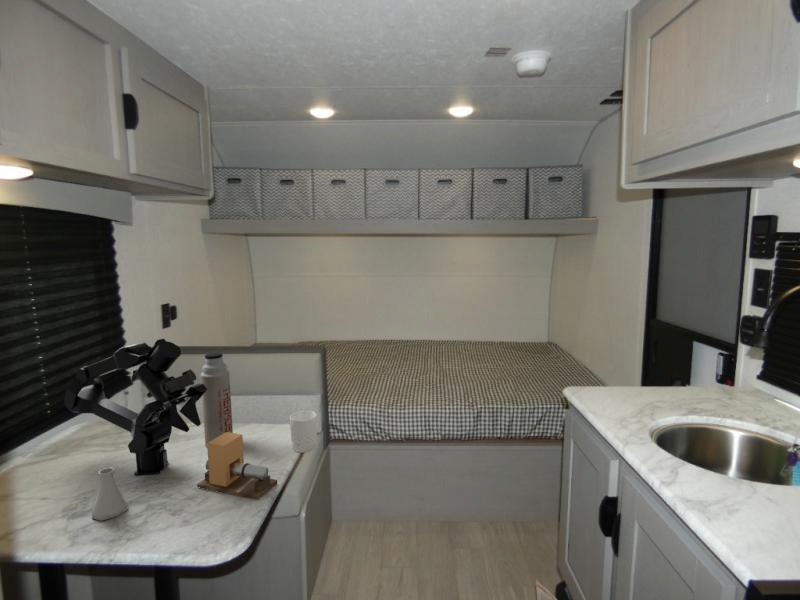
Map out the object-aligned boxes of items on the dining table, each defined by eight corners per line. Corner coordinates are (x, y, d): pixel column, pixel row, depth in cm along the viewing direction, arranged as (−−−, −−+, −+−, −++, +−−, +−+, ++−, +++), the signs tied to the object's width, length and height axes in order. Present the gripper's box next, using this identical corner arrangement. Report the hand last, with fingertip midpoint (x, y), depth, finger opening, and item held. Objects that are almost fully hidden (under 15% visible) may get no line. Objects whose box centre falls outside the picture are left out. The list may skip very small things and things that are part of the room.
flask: (121, 499, 111) (117, 460, 110) (133, 510, 107) (130, 469, 105) (86, 513, 106) (82, 471, 104) (98, 525, 101) (93, 482, 100)
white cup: (291, 455, 133) (289, 422, 132) (290, 444, 141) (288, 412, 139) (319, 452, 135) (317, 419, 134) (316, 440, 143) (315, 409, 141)
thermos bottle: (238, 442, 142) (233, 353, 138) (214, 452, 136) (208, 358, 132) (223, 436, 147) (218, 349, 143) (200, 445, 140) (193, 354, 137)
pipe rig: (197, 487, 116) (195, 464, 115) (219, 472, 123) (217, 450, 123) (258, 500, 110) (256, 475, 109) (277, 483, 118) (276, 460, 117)
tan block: (209, 483, 115) (207, 443, 114) (228, 470, 122) (226, 432, 120) (226, 486, 114) (223, 445, 112) (244, 473, 120) (242, 434, 119)
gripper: (142, 372, 110) (182, 422, 108) (199, 354, 127) (235, 397, 125) (120, 401, 114) (158, 450, 111) (178, 379, 131) (213, 421, 129)
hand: (193, 428), depth 119 cm, fingers open, 4 cm apart
